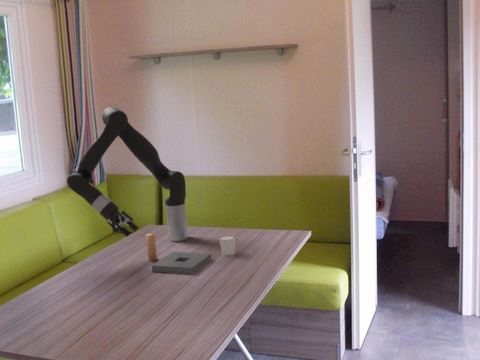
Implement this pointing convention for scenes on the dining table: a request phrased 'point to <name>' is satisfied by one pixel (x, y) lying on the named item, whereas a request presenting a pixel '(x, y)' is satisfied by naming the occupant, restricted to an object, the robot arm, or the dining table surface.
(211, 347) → the dining table surface
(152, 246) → the peg
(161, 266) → the peg board
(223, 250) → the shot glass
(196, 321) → the dining table surface
